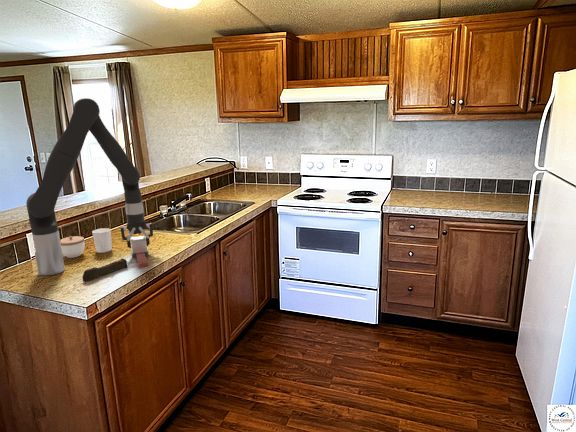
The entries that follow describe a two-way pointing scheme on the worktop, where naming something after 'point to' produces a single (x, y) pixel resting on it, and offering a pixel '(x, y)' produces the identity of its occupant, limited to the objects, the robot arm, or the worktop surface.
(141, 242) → the white cube
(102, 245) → the white cup
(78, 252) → the lidded jar
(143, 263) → the red grey toy vehicle
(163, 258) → the worktop surface
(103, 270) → the hand tool
